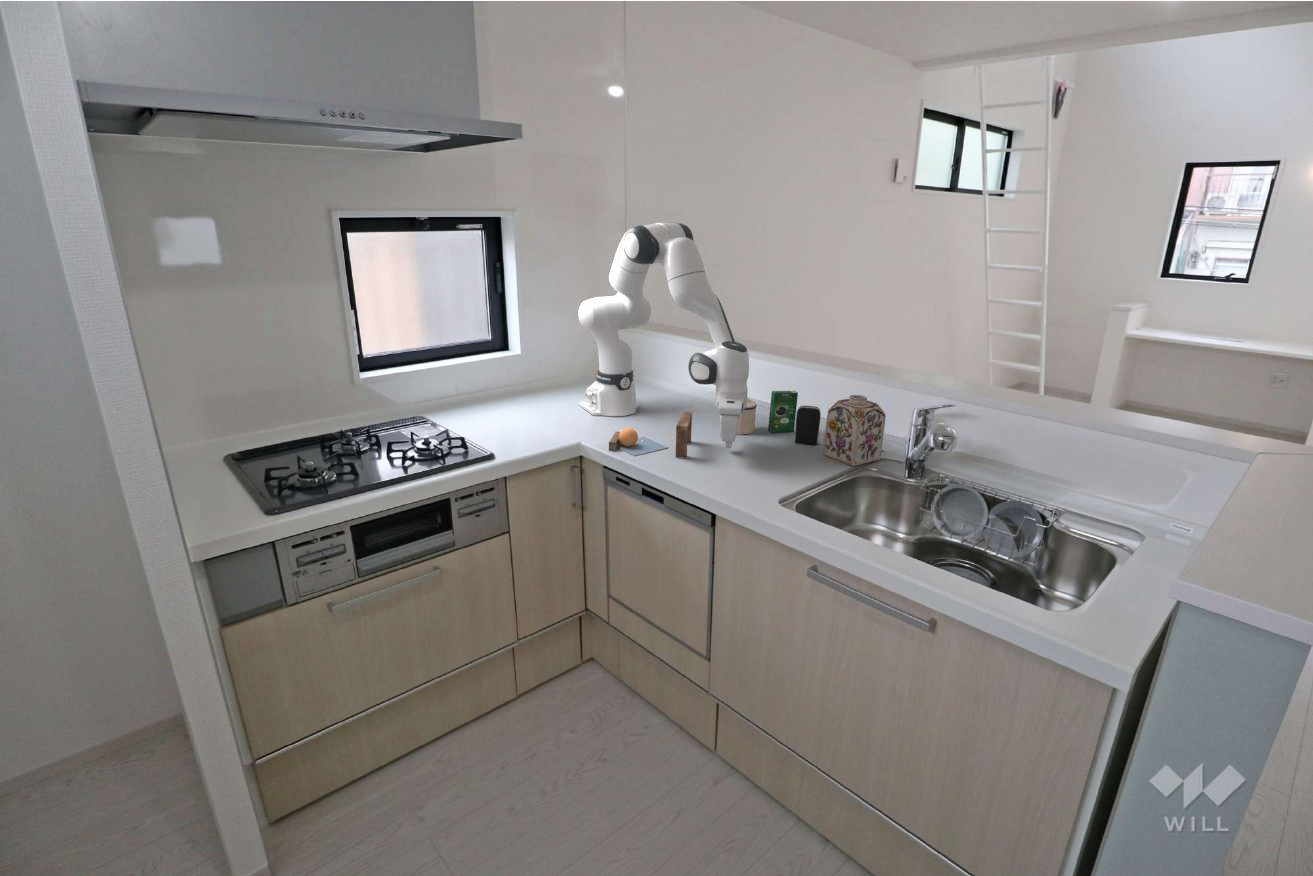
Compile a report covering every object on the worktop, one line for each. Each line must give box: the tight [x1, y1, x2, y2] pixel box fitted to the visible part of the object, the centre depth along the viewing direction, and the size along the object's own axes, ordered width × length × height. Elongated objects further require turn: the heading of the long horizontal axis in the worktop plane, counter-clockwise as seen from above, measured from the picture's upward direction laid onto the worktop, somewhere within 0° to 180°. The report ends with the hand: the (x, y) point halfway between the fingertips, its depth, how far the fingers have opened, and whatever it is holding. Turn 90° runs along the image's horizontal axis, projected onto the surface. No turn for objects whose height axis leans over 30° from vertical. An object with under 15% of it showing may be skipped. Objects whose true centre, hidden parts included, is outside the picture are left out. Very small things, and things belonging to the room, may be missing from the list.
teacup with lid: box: [718, 397, 758, 436], centre depth 212 cm, size 12×9×12 cm
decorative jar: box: [823, 394, 887, 467], centre depth 189 cm, size 12×12×18 cm
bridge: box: [675, 410, 693, 459], centre depth 195 cm, size 3×15×9 cm, turn 172°
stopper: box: [608, 431, 621, 452], centre depth 198 cm, size 2×10×2 cm, turn 172°
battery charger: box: [794, 405, 821, 446], centre depth 202 cm, size 7×4×11 cm, turn 75°
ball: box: [619, 427, 639, 447], centre depth 197 cm, size 6×6×6 cm
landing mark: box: [617, 436, 669, 457], centre depth 198 cm, size 12×12×1 cm
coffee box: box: [767, 390, 799, 434], centre depth 212 cm, size 8×3×13 cm, turn 102°
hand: (728, 446), depth 194 cm, fingers closed
